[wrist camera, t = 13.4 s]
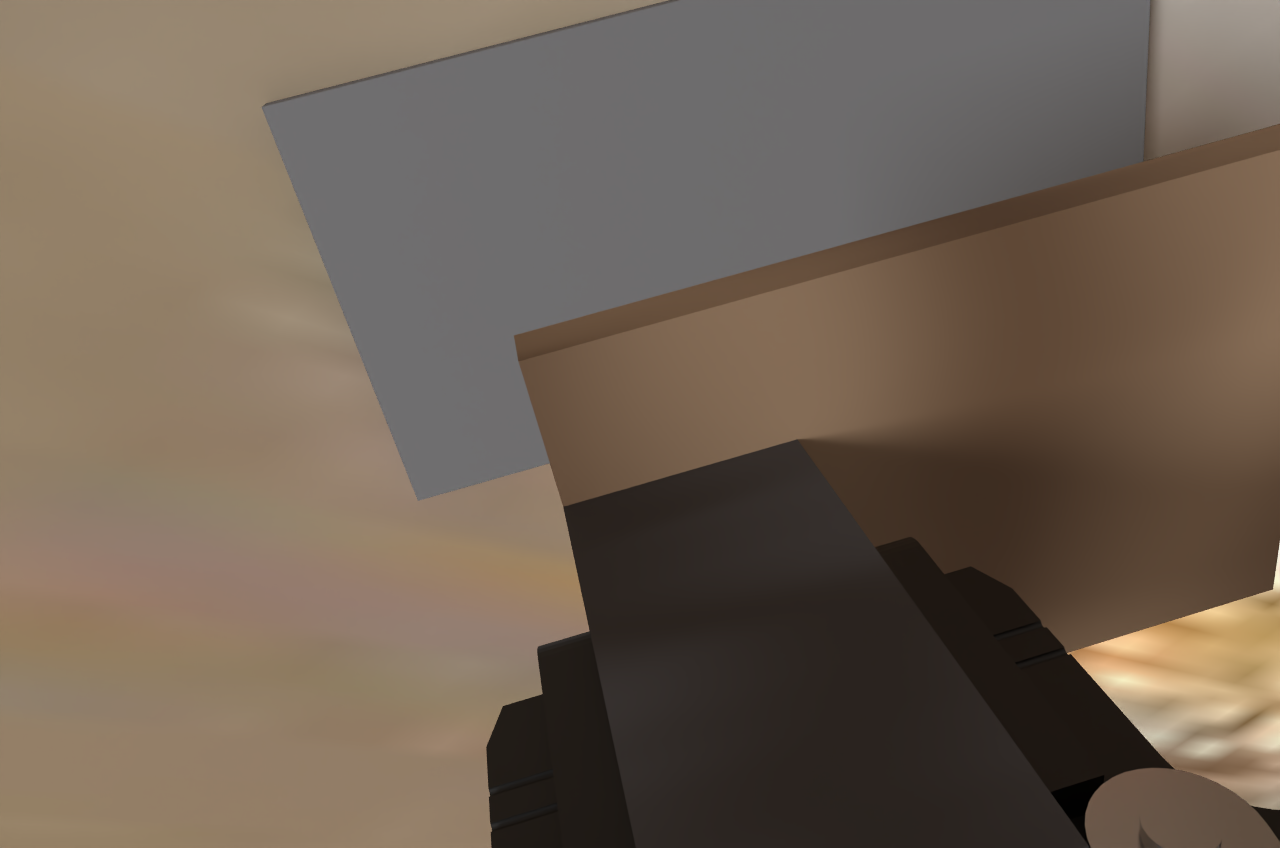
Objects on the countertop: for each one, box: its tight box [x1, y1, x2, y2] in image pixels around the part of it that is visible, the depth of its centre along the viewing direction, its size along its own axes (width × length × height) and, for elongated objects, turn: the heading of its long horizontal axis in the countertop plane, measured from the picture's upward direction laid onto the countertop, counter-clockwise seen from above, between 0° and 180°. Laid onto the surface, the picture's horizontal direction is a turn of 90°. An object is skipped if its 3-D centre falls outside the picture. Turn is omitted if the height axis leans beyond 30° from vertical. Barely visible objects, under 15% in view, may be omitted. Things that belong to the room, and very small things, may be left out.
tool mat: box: [262, 0, 1150, 501], centre depth 25 cm, size 22×11×1 cm, turn 103°
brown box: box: [514, 124, 1280, 848], centre depth 10 cm, size 10×7×7 cm
